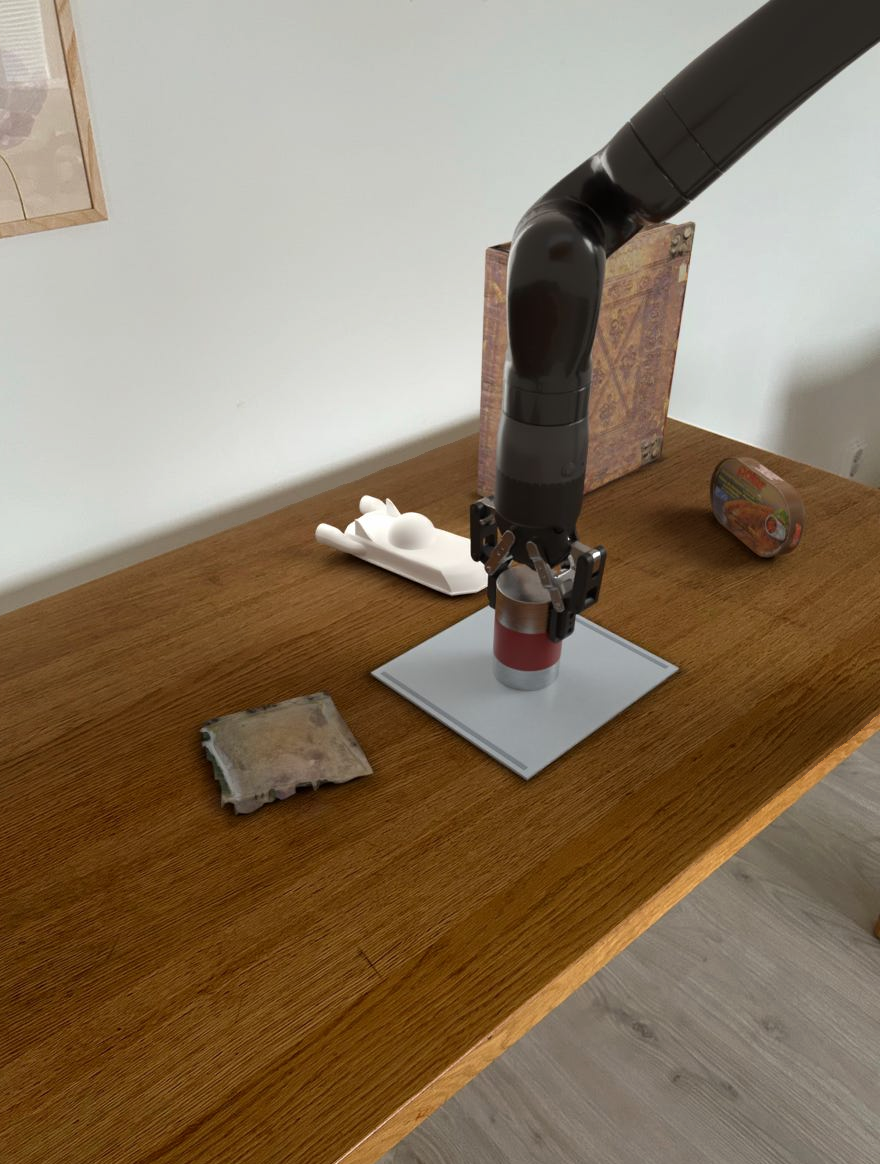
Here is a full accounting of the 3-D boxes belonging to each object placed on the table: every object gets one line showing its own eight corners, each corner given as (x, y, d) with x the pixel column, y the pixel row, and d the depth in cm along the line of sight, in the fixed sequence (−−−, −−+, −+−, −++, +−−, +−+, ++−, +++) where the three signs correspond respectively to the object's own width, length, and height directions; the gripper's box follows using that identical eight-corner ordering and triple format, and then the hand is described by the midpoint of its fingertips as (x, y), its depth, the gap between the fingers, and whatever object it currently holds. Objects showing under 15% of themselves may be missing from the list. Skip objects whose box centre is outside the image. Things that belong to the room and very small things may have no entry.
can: (572, 670, 98) (582, 583, 92) (528, 700, 94) (535, 611, 88) (522, 641, 101) (528, 556, 95) (478, 669, 98) (481, 582, 92)
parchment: (194, 726, 92) (193, 718, 91) (331, 693, 95) (331, 685, 95) (225, 820, 82) (223, 811, 82) (375, 779, 86) (375, 770, 85)
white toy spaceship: (462, 612, 106) (463, 565, 103) (315, 555, 116) (312, 510, 112) (513, 569, 113) (516, 523, 109) (370, 518, 122) (369, 475, 119)
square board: (678, 670, 98) (679, 667, 98) (526, 780, 86) (527, 777, 86) (523, 587, 110) (523, 585, 110) (370, 674, 98) (370, 672, 98)
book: (607, 436, 140) (634, 206, 122) (661, 458, 134) (698, 220, 117) (476, 495, 127) (484, 247, 109) (530, 523, 121) (549, 265, 103)
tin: (703, 509, 123) (715, 445, 118) (725, 505, 124) (738, 441, 119) (775, 572, 112) (791, 504, 107) (799, 567, 112) (817, 500, 107)
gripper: (639, 473, 82) (615, 638, 92) (507, 420, 91) (499, 576, 101) (580, 504, 78) (562, 673, 88) (448, 446, 87) (445, 606, 97)
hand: (528, 621), depth 94 cm, fingers open, 7 cm apart
